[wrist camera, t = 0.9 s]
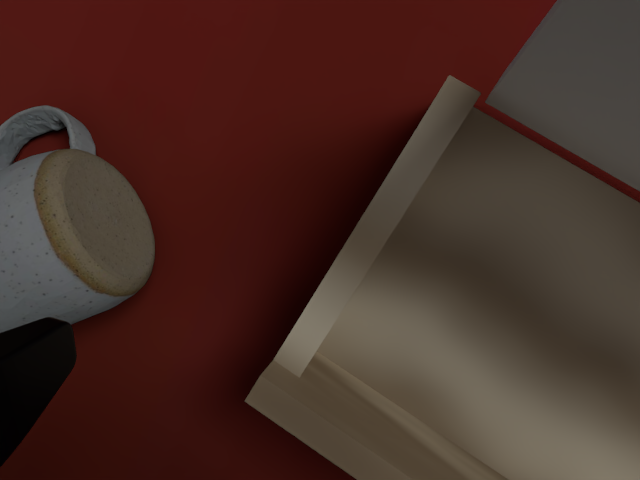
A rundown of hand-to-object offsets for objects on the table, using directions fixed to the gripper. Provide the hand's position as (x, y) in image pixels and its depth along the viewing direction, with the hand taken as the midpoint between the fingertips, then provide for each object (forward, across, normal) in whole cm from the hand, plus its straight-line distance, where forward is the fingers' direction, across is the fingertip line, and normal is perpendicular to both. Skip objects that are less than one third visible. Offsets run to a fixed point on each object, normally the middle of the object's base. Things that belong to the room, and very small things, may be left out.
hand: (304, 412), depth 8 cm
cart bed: (+13, -7, +6) cm, 17 cm away
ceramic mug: (+14, +16, +7) cm, 22 cm away
